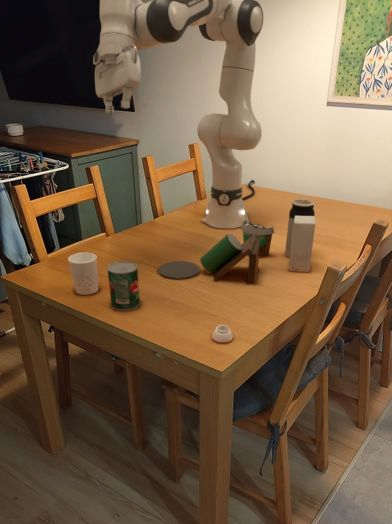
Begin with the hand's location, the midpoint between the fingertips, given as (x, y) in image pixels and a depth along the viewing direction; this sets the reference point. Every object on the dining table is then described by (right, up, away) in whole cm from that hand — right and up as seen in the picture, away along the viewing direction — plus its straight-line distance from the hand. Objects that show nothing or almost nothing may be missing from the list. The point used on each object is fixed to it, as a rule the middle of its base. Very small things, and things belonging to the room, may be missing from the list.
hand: (117, 111), depth 124 cm
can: (+29, -34, +18) cm, 48 cm away
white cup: (-11, -47, +12) cm, 49 cm away
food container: (+40, -31, +35) cm, 62 cm away
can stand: (+34, -40, +21) cm, 56 cm away
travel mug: (+55, -32, +34) cm, 72 cm away
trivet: (+16, -39, +23) cm, 48 cm away
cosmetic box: (+54, -37, +26) cm, 71 cm away
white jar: (+27, -61, -11) cm, 68 cm away
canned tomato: (+2, -51, +4) cm, 51 cm away
